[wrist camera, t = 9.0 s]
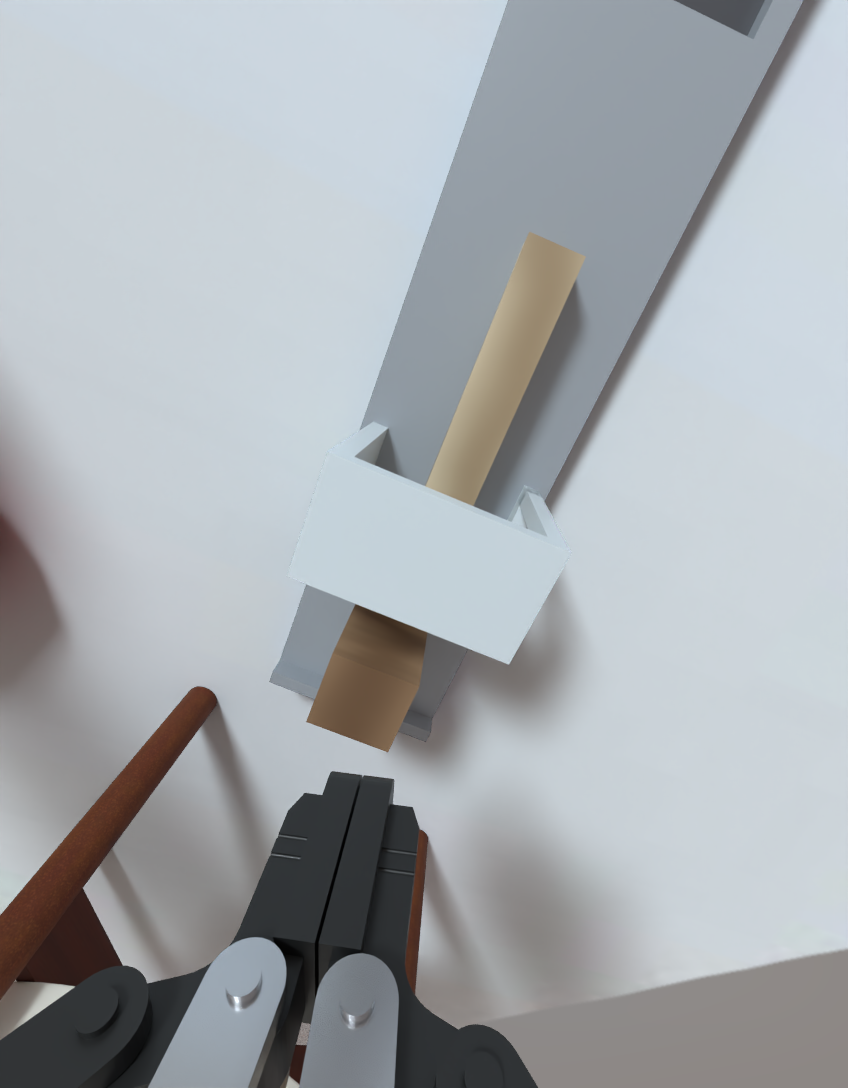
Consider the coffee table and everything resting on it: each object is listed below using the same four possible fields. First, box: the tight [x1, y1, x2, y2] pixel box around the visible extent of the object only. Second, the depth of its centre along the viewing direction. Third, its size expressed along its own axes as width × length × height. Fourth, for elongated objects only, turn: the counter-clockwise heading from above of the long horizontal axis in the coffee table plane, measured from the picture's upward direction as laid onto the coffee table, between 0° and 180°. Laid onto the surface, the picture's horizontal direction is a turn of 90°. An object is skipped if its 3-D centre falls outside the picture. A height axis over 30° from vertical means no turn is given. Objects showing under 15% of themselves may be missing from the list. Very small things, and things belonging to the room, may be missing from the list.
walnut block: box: [306, 604, 428, 752], centre depth 25 cm, size 4×4×7 cm
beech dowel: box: [425, 232, 586, 506], centre depth 23 cm, size 2×18×2 cm, turn 159°
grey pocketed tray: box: [269, 0, 803, 742], centre depth 20 cm, size 10×41×10 cm, turn 158°
